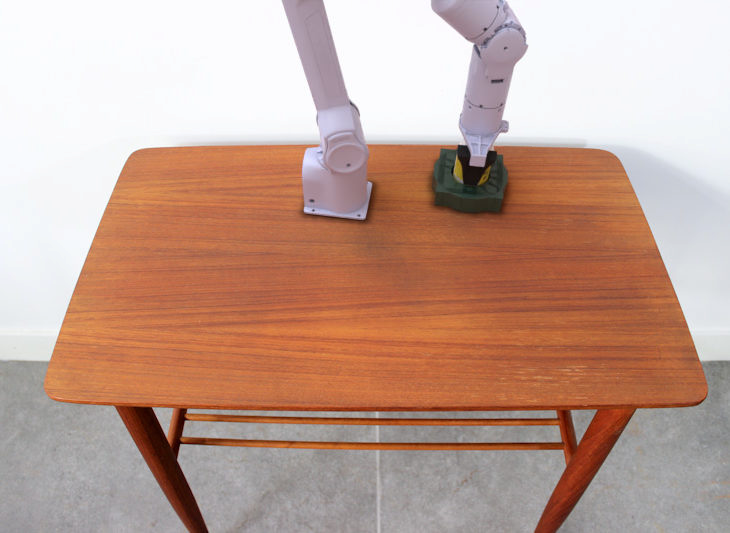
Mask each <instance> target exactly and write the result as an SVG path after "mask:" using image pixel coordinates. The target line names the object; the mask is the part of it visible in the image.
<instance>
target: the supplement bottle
mask: <svg viewBox="0 0 730 533" xmlns="http://www.w3.org/2000/svg"><path fill="white" fill-rule="evenodd" d="M458 145H467V144H466V142H465V140H464V138H462V139H461V140H460V141H459V143H458ZM489 150H491V151H495V146H494V144H493V145H492V146H491V148H490V149H489ZM490 167H491V166H490ZM490 167H489V168H488V169H487V170H486V171H485V173H484V174H483V176H482V178H481V180H480V182H479V183H478V185H477V186H480V185H483V184H484V183H486V182H487V180H488V176H489V171H490ZM453 178H454V179H455V180H456V181H457V182H459V183H461V184H463V176H462V166H461V163H460V161H459V160H458V157H457V156H456V162H455V167H454V172H453ZM463 185H464V184H463ZM466 186H472V185H466Z"/></svg>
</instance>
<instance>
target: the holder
mask: <svg viewBox="0 0 730 533" xmlns="http://www.w3.org/2000/svg"><path fill="white" fill-rule="evenodd" d="M456 156H457V148H456V149H455V148H453V149H451V148H444V147H443V148H442V147H441V148H440V150H439V158H438V159H437V160H436V161H435V162H434V164H433V172H432V181H431V189H432V192H433V193H434V203H433V206H437V207H447V208H451V209H453V210H455V211H458V212H463V213H471V214H476V213H481V212H491V213H500V212H501V208H502V204H503V200H504V196H505V194H506V190H507V185H508V182H509V175H508V174H509V171H508V169H507V168H506V165H505V164H504V154H500V153H497V159H496V161H495V163H494V164H492V165H491V167H490V171H489V176H488V180H487V182H486V183H484V184H483V185H480V186H466V185H463V184H461V183H459V182H457V181H456V180H455V179H454V178H453V172H454V167H455V162H456Z"/></svg>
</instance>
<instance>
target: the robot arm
mask: <svg viewBox="0 0 730 533" xmlns="http://www.w3.org/2000/svg"><path fill="white" fill-rule="evenodd" d="M281 3H282V6H283V10H284V12H285V16H286V19H287V22H288V25H289V28H290V31H291V35H292V39H293V41H294V44H295V47H296V50H297V54H298V56H299V60H300V63H301V66H302V69H303V72H304V75H305V78H306V81H307V85H308V88H309V91H310V95H311V97H312V101H313V104H314V106H315V110H316V114H315V121H316V125H317V127H318V133H319V139H320V143H319V145H318V146H315V147H307V148H306V149H305V152H304V154H303V160H302V166H301V183H302V184H301V185H302V193H303V204H304V207H303V212H304V214H308V215H315V216H316V215H317V216H325V217H334V218H340V219H341V218H342V219H350V220H360V221H364V220H366V218H367V215H368V209H369V204H370V199H371V193H372V188H373V183H372V181H368V160H369V158H370V150H369V147H368V144H367V143H366V139H365V133H364V131H363V127H362V126H363V125H362V122H361V114H360V109H359V107H358V105H356V103H355V102H353V101H352V99H351V98H350V97H349V93H348V89H347V86H346V83H345V79H344V75H343V72H342V67H341V64H340V59H339V56H338V52H337V49H336V44H335V40H334V37H333V33H332V29H331V25H330V22H329V17H328V13H327V9H326V6H325V2H324V0H281ZM430 8H431V10H432V11H433V13H434V14H436V15H437V16H438V17H440V18H441V19H442V20H443V21H444V22H445V23H446V24H448V25H449V26H450V27H451V28H452V29H453V30H454V31H456V32H457V33H458V34H459V35H460V36H461V37H462V38H464V39H465V40H466V41H468V42H469V43H472V44H473V45H472V51H471V57H470V62H469V66H468V72H467V79H466V86H465V92H464V96H463V103H462V109H461V112H460V114H459V118H458V129H459V131H460V133H461V135H462V137H463V139H464V140H465V142H466V144H467V145H459V144H457V148H456V149H457V157H458V160H459V161H460V163H461V166H462V176H463V184H464V185H472V186H477V185H478V183H479V182H480V180H481V178H482V176H483V174H484V173H485V171H486V170H487V169H488V168H489V167H490V166H491V165H492V164H494V163H495V161H496V159H497V154H498V150H494V151H491V150H489V149H490V148H491V146H492V145H493V146H494V143H495V141H496V140H497V138H498V137H499V135H500V134H507V133H509V129H510V122H509V120H505V119H503V117H504V113H505V110H506V104H507V100H508V96H509V91H510V87H511V82H512V78H513V74H514V69H515V66H516V64H517V63H518V62H519V61H520V60H521V59H522V58H523V57H524V56H525V54H526V53H527V51H528V48H529V44H528V43H527V36H526V35H527V33H526V31H525V29H524V27H523V25H522V24H521V22H520V20H519V18H518V17H517V15H516V14H515V12H514V10H513V9H512V8H511V7H510V5H509V3H508V1H507V0H430Z"/></svg>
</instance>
